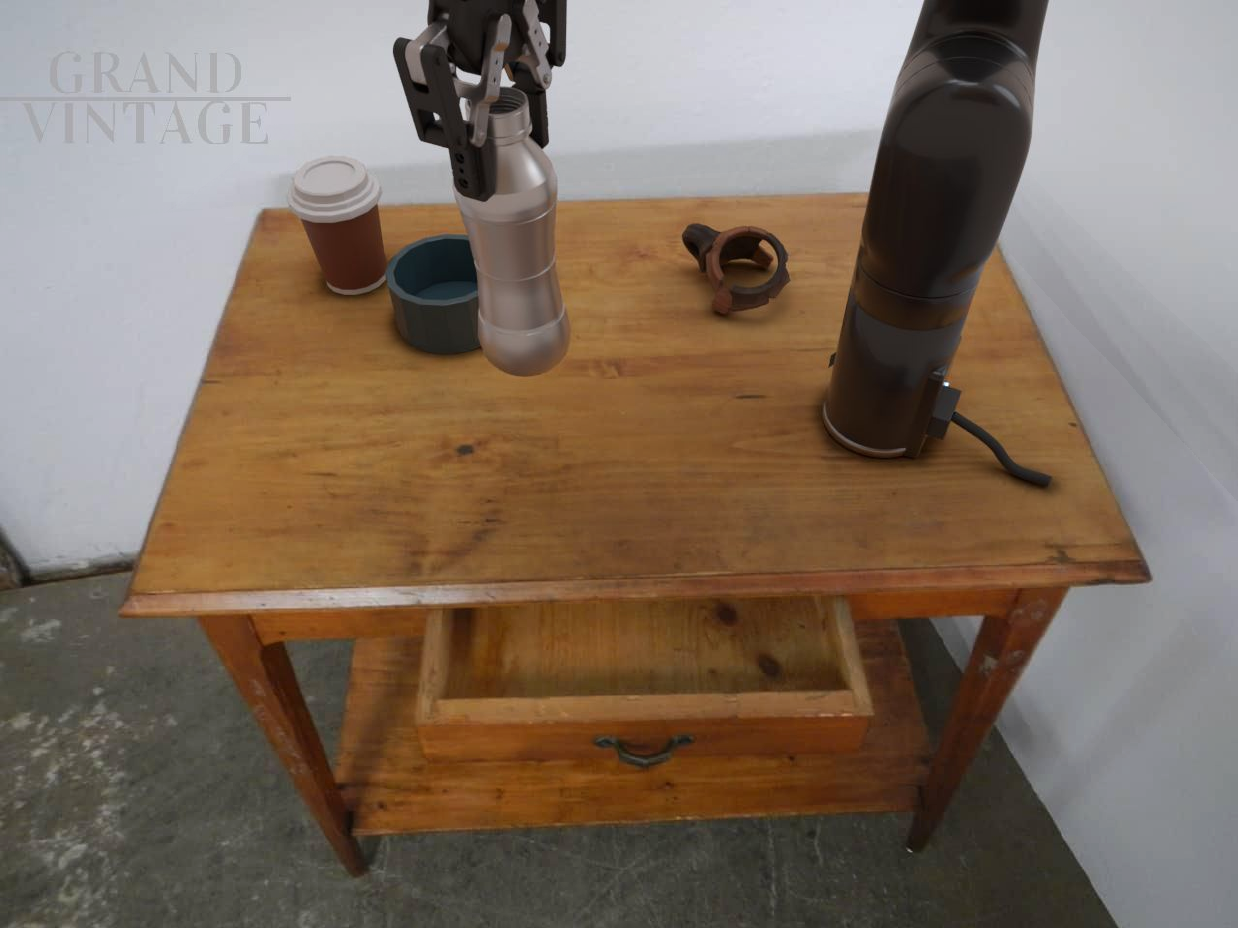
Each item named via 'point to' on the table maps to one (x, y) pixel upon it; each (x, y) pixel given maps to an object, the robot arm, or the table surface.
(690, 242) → the brown ring bracket
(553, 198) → the tan bottle
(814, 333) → the table surface
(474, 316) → the bowl
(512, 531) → the table surface
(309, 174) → the coffee cup
